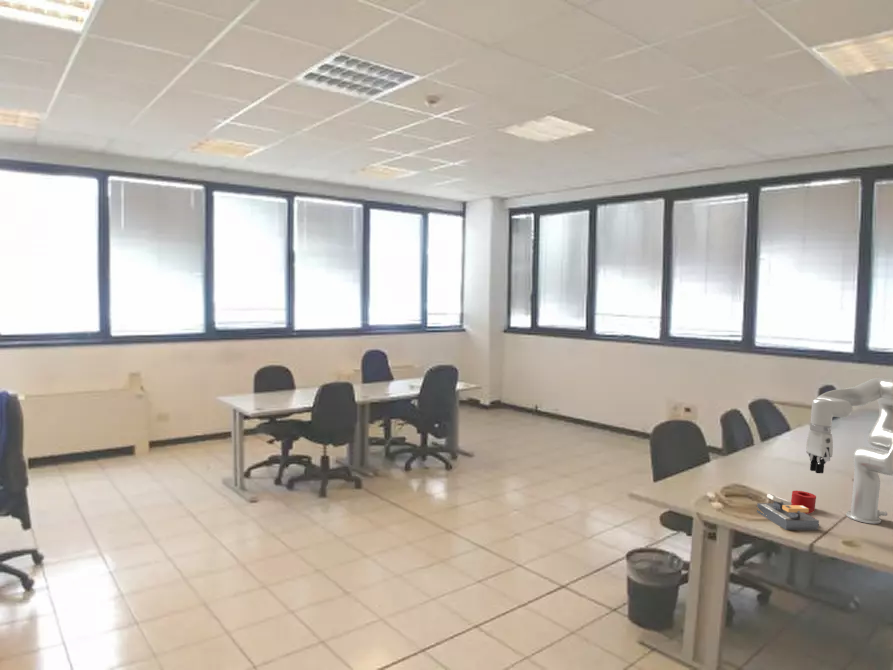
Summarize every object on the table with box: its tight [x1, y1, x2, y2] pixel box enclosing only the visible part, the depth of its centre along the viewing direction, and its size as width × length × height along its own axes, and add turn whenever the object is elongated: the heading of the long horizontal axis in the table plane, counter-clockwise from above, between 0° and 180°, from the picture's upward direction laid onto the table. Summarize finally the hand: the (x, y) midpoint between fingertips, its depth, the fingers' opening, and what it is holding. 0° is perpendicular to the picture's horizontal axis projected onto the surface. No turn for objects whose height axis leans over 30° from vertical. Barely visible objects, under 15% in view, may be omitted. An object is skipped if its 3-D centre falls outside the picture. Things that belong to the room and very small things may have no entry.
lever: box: [790, 490, 817, 515], centre depth 271 cm, size 18×9×7 cm, turn 143°
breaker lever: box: [782, 505, 809, 513], centre depth 253 cm, size 9×5×2 cm, turn 95°
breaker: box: [766, 493, 791, 505], centre depth 264 cm, size 9×5×2 cm, turn 96°
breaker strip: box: [756, 500, 820, 531], centre depth 258 cm, size 14×20×6 cm
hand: (816, 471), depth 252 cm, fingers closed
